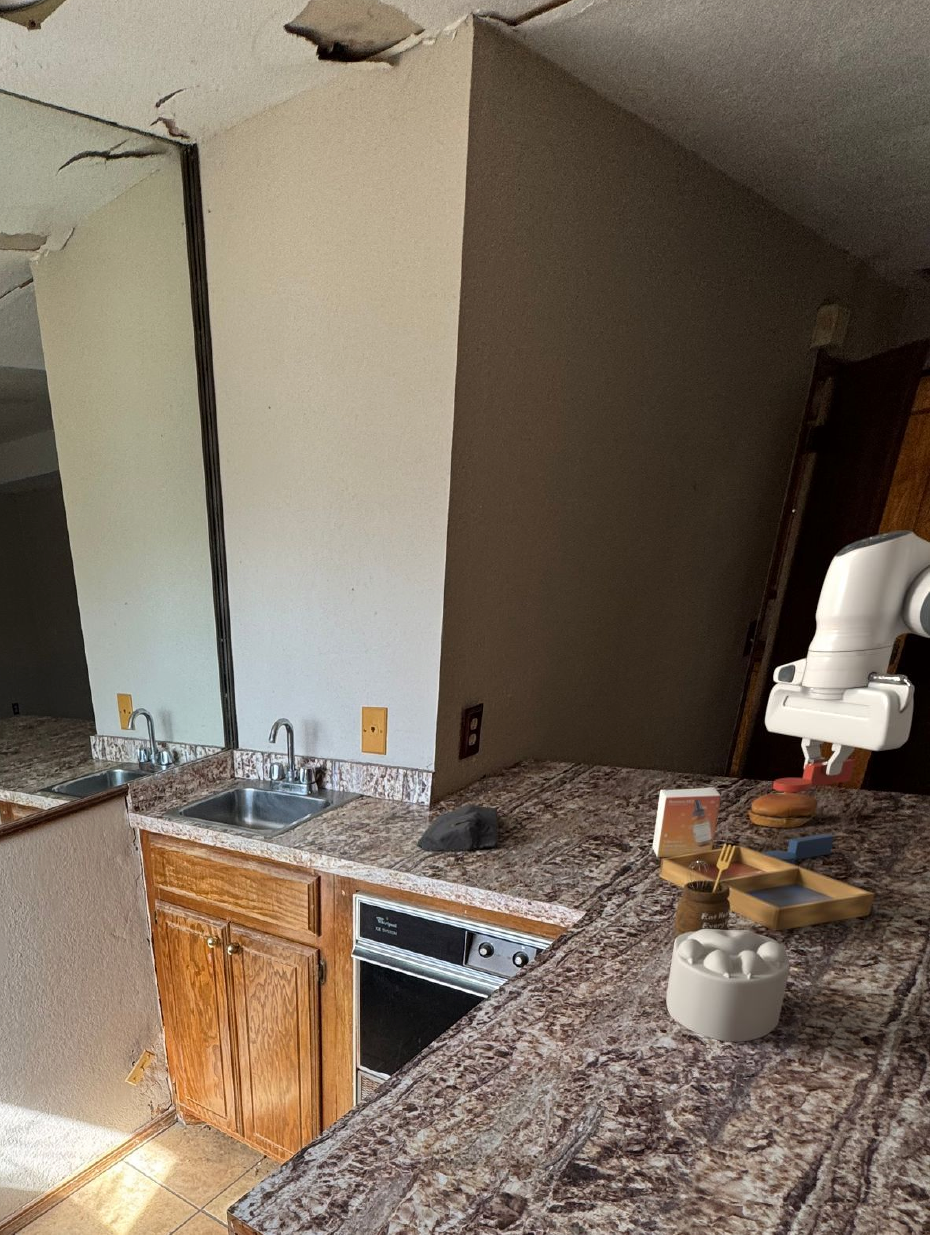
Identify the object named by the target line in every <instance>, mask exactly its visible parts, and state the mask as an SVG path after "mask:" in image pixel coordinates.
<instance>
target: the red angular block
mask: <svg viewBox="0 0 930 1235" xmlns="http://www.w3.org/2000/svg"><path fill="white" fill-rule="evenodd" d="M822 763H823V762H818V763H812V764H806V765H805V769H804V768H803V773H802V777H783V778H781V777H780V778H777V779H775V780H774V781H773V786H772V789H773V790H775V791H777V792H782V793H784V792H790V793H802V792H808V791H811V789H812V787H813V788H814V787H820V786H825V785H833V784H839V783H845V782H850V781H851V778H852V775H853V771H854V767H855V763H856V760H855V759H851V758H847V759H846V760H845V761H844V762H843V765H842V769H841V772H840V773H839V774H838V775H831V776H830V775H826V774H822V773H821V769H822Z"/></svg>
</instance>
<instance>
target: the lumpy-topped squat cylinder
mask: <svg viewBox="0 0 930 1235" xmlns="http://www.w3.org/2000/svg"><path fill="white" fill-rule="evenodd" d="M670 963H671V964H670V970H669V976H668V982H667V983H668V984H667V990H666V999H665V1000H666V1009H667V1011H668V1014H669V1015H670V1017H671V1018H672V1019H673V1020H674V1021H676V1022H677V1023H679V1024H680V1025H682V1026H683V1027H685V1028H686V1029H688V1030H690V1031H691V1032H694V1033H696V1034H698V1035H701V1036H704V1037H707V1038H709V1039H710V1038H711V1039H714V1040H717V1041H723V1042H733V1043H734V1042H735V1043H737V1042H741V1043H742V1042H747V1041H753V1040H757V1039H760V1038H763V1037H765V1036H766V1035H768V1034H770V1033H771V1032H772V1031H773V1030H774V1029H775V1028H776V1027H777V1026H778V1024H779V1020H780V1015H781V1011H782V1007H783V1002H784V997H785V993H786V988H787V984H788V979H789V975H790V968H791V964H790V959H789V956H788V954H787V950H786V948H785V947H784V946H783V944H781V943H779V942H778V941H776V940H775V939H774V938H771V937H768V936H765V935H762V934H757V933H756V932H754V931H753V930H748V929H726V930H718V929H702V930H699V931H697V932H688V933H684V934H682V935H680V936H677V937H676V938H675V939H674V943H673V949H672V956H671V962H670Z"/></svg>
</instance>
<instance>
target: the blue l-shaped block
mask: <svg viewBox="0 0 930 1235" xmlns="http://www.w3.org/2000/svg"><path fill="white" fill-rule="evenodd" d="M834 840H835V835H833V834H830V833H826V832H825V833H820V834H813V835H809V836H802V837H796V838H791V839H789V842H788V847H787V851H786V850H768V851H764V852H762V853H763V854H766V855H769V856H771V857H774V858H777V859H780V860H782V861H785V862H788V863H791V864H794V863H795V862H796V861H797V860H803V859H808V858H814V857H820V855H821V856H827V855H831V852H832V849H833V845H834Z"/></svg>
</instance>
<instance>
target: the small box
mask: <svg viewBox="0 0 930 1235" xmlns="http://www.w3.org/2000/svg"><path fill="white" fill-rule="evenodd" d="M721 799H722V796H721V794H720V793H719V791H718V790H717V789H716V787H714V786H711V787H710V786H709V787H700V788H681V789H680V788H679V789H660V791H659V797H658V804H657V812H656V821H655V826H654V834H653V841H652V849H653V851H654V853H655V856H656V858H669V857H675V856H680V855H686V854H692V853H698V852H704V851H710V850H713V847H714V842H715V835H716V829H717V824H718V819H719V818H718V817H719V812H720V806H721V801H722V800H721Z"/></svg>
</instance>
